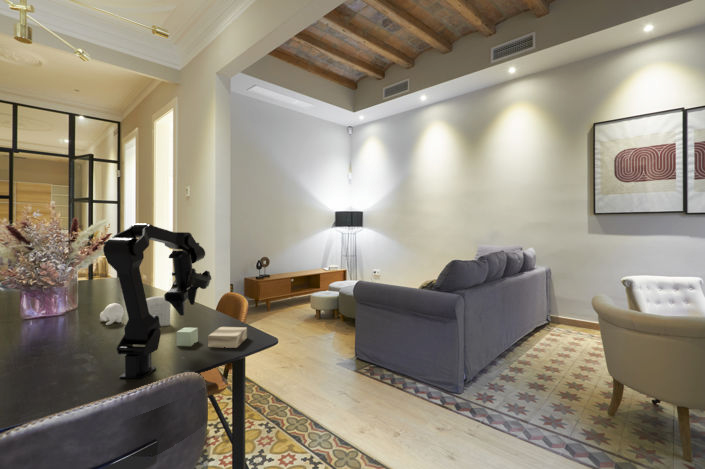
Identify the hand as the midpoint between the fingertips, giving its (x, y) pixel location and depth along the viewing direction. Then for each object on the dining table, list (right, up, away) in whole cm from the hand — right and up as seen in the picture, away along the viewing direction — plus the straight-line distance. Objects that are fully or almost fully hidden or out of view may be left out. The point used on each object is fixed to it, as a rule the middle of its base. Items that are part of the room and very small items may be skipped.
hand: (187, 309), depth 117 cm
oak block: (+14, -12, +2) cm, 19 cm away
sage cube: (0, -12, 0) cm, 12 cm away
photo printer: (-22, -11, +19) cm, 31 cm away
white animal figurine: (-45, -11, +24) cm, 52 cm away
